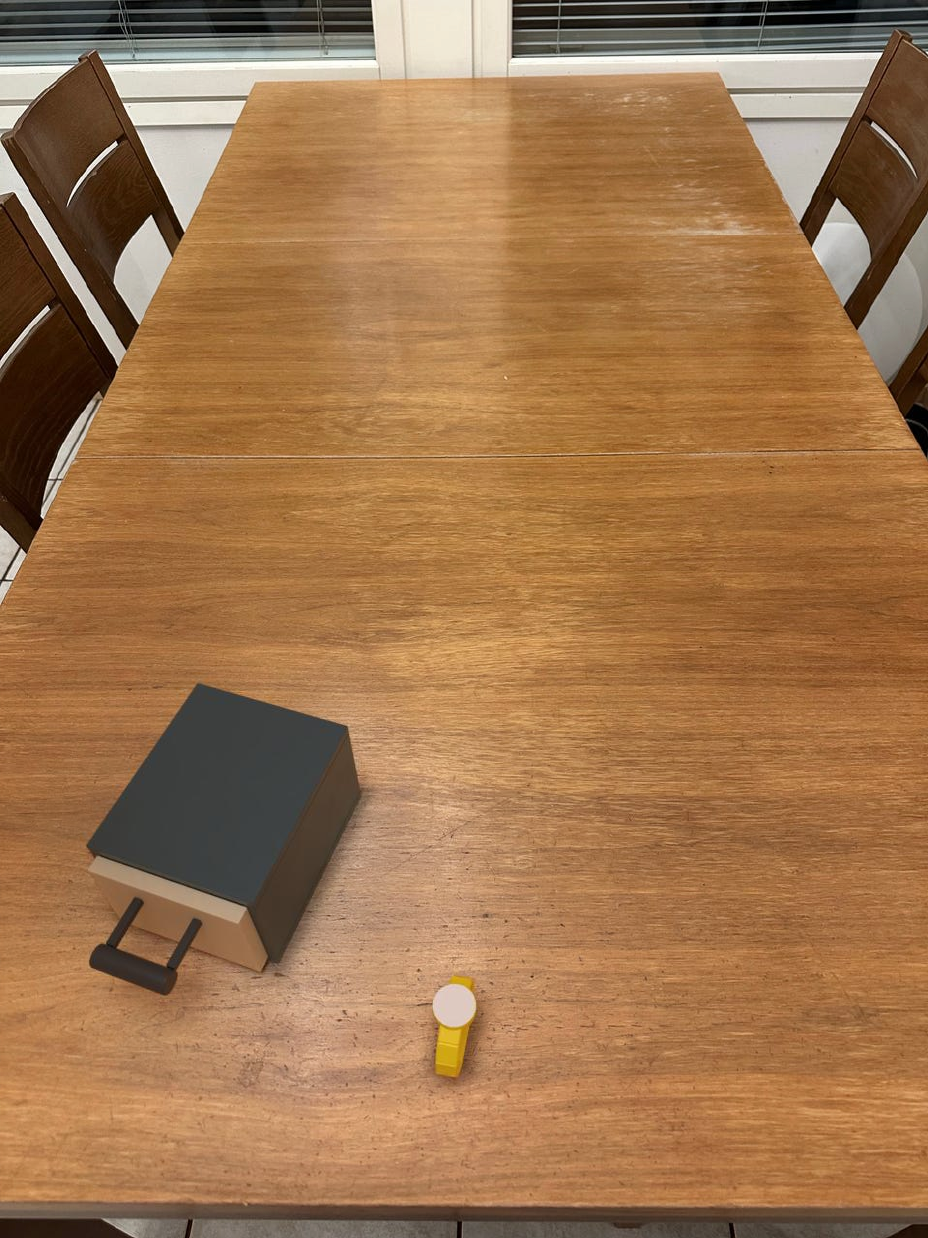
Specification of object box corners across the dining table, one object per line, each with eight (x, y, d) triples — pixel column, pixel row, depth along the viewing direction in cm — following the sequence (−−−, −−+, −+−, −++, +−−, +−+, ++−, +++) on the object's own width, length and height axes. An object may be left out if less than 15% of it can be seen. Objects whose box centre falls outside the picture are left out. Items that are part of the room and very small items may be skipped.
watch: (468, 1091, 61) (466, 1062, 57) (426, 1083, 62) (421, 1053, 57) (484, 999, 65) (484, 965, 61) (445, 992, 65) (442, 957, 61)
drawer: (225, 1043, 63) (197, 999, 57) (80, 986, 65) (40, 939, 60) (341, 811, 74) (328, 755, 68) (214, 771, 77) (191, 714, 71)
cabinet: (278, 964, 67) (252, 903, 60) (126, 909, 70) (85, 845, 63) (361, 795, 76) (348, 725, 69) (224, 753, 79) (197, 682, 72)
